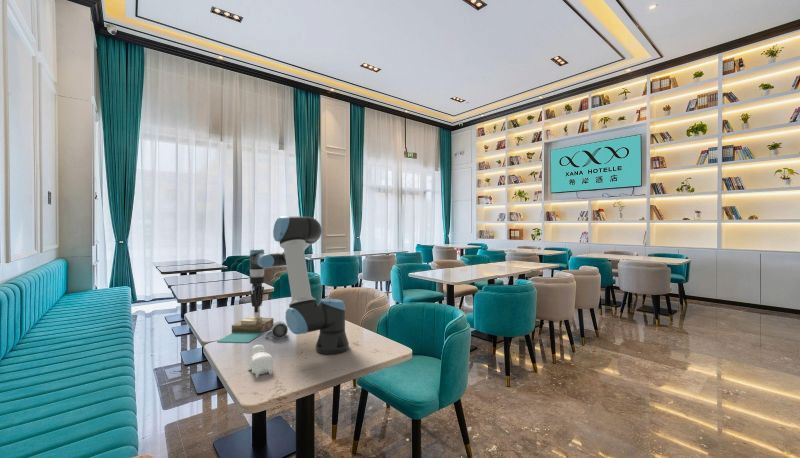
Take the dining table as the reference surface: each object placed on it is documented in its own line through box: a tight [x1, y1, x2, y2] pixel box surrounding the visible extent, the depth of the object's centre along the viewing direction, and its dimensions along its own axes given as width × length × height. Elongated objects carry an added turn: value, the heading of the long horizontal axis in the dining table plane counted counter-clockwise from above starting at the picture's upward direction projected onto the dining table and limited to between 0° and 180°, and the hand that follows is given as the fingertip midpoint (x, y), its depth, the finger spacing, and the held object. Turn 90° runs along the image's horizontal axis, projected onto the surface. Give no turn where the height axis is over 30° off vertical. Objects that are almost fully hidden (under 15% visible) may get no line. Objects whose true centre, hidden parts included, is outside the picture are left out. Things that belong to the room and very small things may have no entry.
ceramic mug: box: [265, 320, 289, 340], centre depth 181 cm, size 11×8×8 cm
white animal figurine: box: [247, 344, 274, 379], centre depth 139 cm, size 9×8×15 cm
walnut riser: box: [231, 317, 275, 334], centre depth 194 cm, size 16×16×4 cm
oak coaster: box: [240, 316, 263, 325], centre depth 192 cm, size 8×8×2 cm
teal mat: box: [216, 332, 263, 344], centre depth 179 cm, size 15×16×1 cm
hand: (257, 317), depth 199 cm, fingers closed
